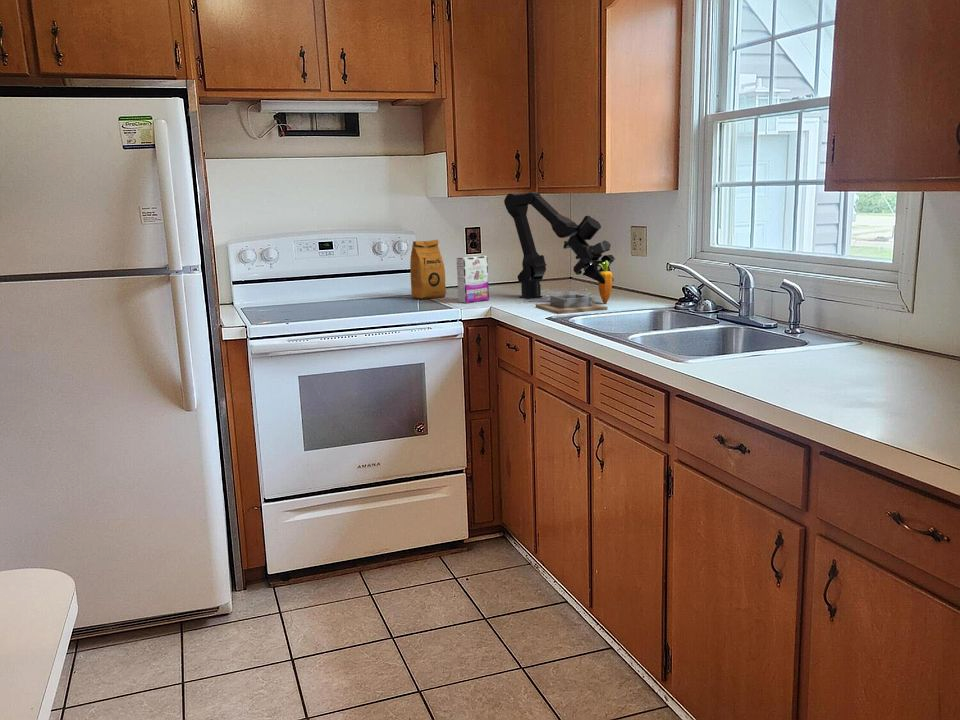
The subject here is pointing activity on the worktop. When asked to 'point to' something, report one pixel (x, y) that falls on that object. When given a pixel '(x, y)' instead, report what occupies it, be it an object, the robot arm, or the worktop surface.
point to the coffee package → (427, 270)
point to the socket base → (570, 304)
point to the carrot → (607, 286)
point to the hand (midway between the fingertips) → (608, 282)
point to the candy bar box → (472, 279)
